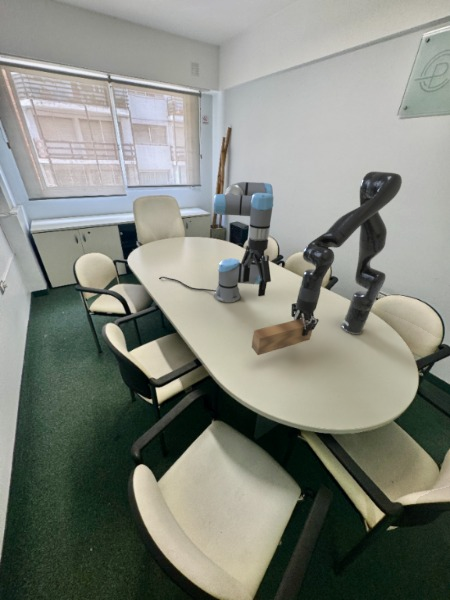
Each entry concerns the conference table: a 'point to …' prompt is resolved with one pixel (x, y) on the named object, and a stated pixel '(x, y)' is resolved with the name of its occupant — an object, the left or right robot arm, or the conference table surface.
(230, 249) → the conference table surface
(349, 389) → the conference table surface
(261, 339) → the bar
